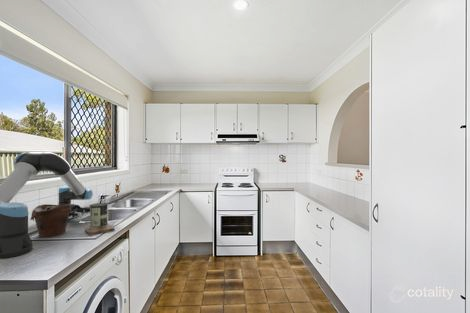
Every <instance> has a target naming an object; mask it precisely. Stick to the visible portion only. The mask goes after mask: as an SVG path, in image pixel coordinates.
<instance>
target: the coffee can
mask: <svg viewBox="0 0 470 313" xmlns="http://www.w3.org/2000/svg"><path fill="white" fill-rule="evenodd" d="M89 207H90V212H89V228H91V227H97V226H104V225H109V224H108V203H105V202H100V203H99V202H98V203H93V204H90V205H89Z"/></svg>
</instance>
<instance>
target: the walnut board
mask: <svg viewBox="0 0 470 313" xmlns="http://www.w3.org/2000/svg"><path fill="white" fill-rule="evenodd" d="M84 231H85V233H86V234H87V235H88V236H93V235H99V234H105V233H109V232H115V231H116V230H115V227H114V226H113V225H111V224H108V225H104V226H97V227H91V228H90V227H86V228H84Z"/></svg>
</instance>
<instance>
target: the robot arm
mask: <svg viewBox="0 0 470 313" xmlns="http://www.w3.org/2000/svg"><path fill="white" fill-rule="evenodd" d="M13 167H14V168H13V171H12V172H11V173H10V174H9V175H8V176H7V177H6V178H5V179H4V180H3V181H2V182H1V183H0V259H1V260H2V259H9V258H14V257H19V256H22V255H24V254H28V253H30V252H31V251H32V250H33V249H34V248H33V247H34V246H33V245H34V244H33V242H32V240H31V237H30V235H29V208H28V205H27V204H26V203H24V202H15V201H14V202H13V201H12V200H13V199H14V198H15V196H16V195H17V194H18V193H19V192H20V191H21V189H22V188H23V187H24V186H25V185H26V184H27V182H29V180H30V179H32V178H35V177H36V176H37V175H38V174H39V173H40V172H50V173H53V174H54V175H55V176H58V177H59V178H60V179H61V181H63V182H64V183H65V185H66V186H61V187H59V188H58V194H57V195H58V203H57V204H58V205H64V204H69V205H70V207H71V210H72V212H70V213H69V218H75V217H76V218H82V217H83V214H85V213H90V206H89V207H88V206H85V207H81V206H80V205H79V204H75V203H72V201H86V200H88V201H89V200H91V199H92V197H93V190H92V189H86V187H85V185H84V184H83V183H82V182H81V181H80V179H79V178H78V177H77V175H76V174H75V172H73V171H72V168H71V165H70V164H69V162H68V161H67V160H66V159H64V158H63V157H62V156H60V155H58V154H56V153H54V152H50V151H48V152H47V151H46V152H42V151H41V152H40V151H39V152H37V151H36V152H35V151H26V152H21V153H18V155H17V156H16V157H15V159H14V162H13ZM11 201H12V202H11Z"/></svg>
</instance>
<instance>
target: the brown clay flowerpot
mask: <svg viewBox="0 0 470 313" xmlns="http://www.w3.org/2000/svg"><path fill="white" fill-rule="evenodd" d="M70 212H72V210H71V207H70V205H69V204H64V205H57V204H51V203H50V204H46V203H45V204H40V205H37V206H36V207H34V209H32V211H31V217H30V218H29V219H30V221H33V222H35V225H36V230H37V233H38V237H41V238H50V237H56V236H60V235H63V234H65V233H66V231H67V230H66V229H67V226H68V222H69V218H70V217H69V213H70Z"/></svg>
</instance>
